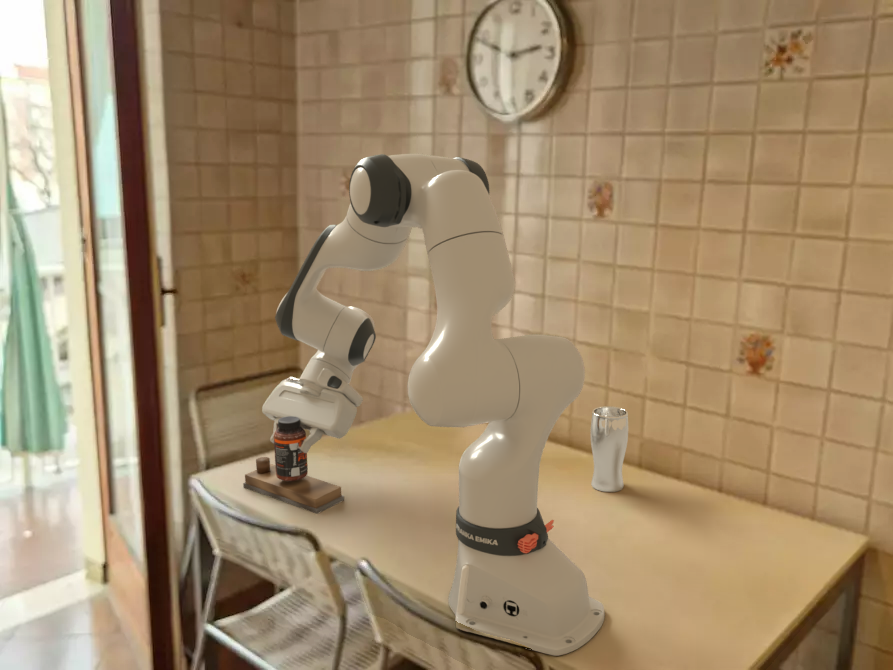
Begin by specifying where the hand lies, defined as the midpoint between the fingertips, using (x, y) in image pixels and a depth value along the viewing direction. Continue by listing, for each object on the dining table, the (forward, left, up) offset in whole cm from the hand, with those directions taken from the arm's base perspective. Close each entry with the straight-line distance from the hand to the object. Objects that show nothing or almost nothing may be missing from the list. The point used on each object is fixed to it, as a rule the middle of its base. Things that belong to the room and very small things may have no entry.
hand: (287, 447), depth 155 cm
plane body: (0, -1, -10) cm, 10 cm away
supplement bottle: (0, -1, -6) cm, 6 cm away
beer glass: (-47, -38, -10) cm, 61 cm away
